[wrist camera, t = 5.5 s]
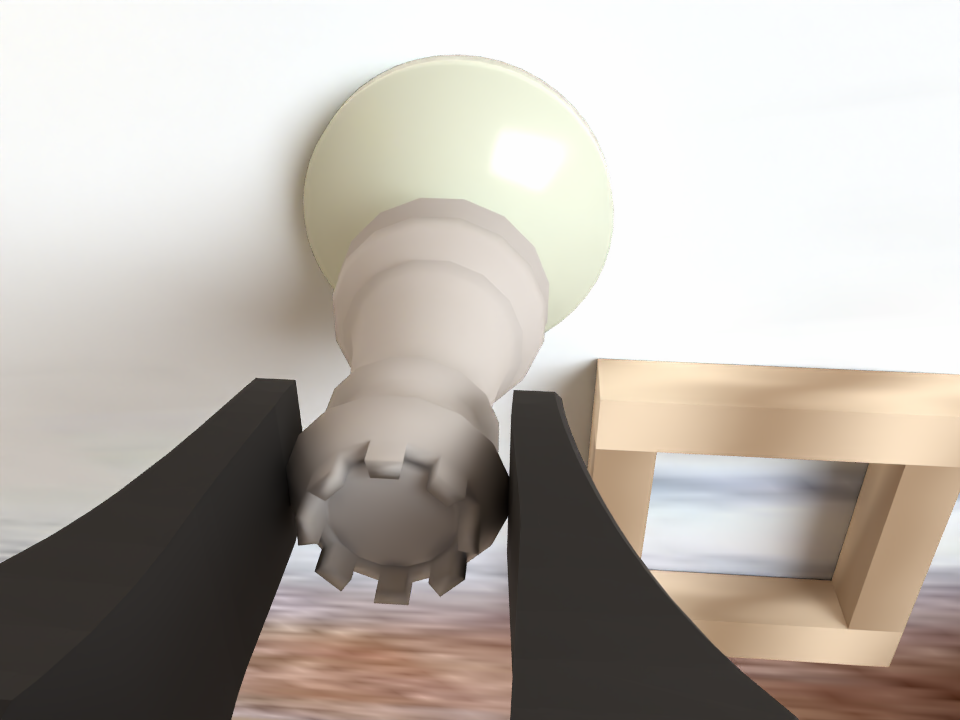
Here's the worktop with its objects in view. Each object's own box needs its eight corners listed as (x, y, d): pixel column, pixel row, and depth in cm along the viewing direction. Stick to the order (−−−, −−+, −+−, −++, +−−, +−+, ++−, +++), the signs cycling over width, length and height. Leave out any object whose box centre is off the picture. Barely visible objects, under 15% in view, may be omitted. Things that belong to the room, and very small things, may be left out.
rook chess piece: (420, 411, 20) (355, 691, 13) (299, 257, 19) (154, 488, 12) (589, 321, 19) (614, 582, 12) (474, 146, 17) (428, 333, 10)
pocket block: (960, 374, 22) (989, 418, 21) (870, 617, 27) (888, 667, 26) (597, 358, 23) (600, 399, 21) (574, 599, 28) (576, 647, 26)
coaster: (625, 58, 18) (628, 69, 18) (599, 342, 22) (600, 360, 22) (295, 50, 19) (286, 60, 18) (325, 330, 23) (318, 347, 22)
